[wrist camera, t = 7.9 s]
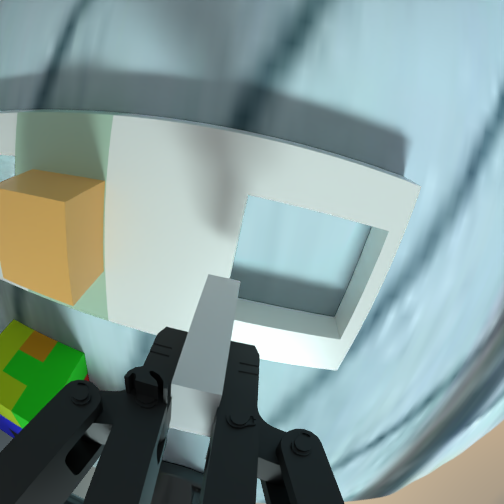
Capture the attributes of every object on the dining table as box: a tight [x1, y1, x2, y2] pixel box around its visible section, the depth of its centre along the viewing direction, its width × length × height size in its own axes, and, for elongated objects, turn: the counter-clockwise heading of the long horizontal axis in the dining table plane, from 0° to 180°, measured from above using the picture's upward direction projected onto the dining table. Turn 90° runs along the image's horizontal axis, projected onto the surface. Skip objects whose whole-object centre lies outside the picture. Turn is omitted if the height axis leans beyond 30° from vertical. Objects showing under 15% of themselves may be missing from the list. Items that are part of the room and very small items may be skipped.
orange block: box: [0, 169, 105, 306], centre depth 15 cm, size 6×6×4 cm
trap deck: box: [0, 109, 421, 370], centre depth 18 cm, size 14×34×2 cm, turn 78°
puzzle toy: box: [0, 319, 89, 438], centre depth 23 cm, size 10×10×10 cm
